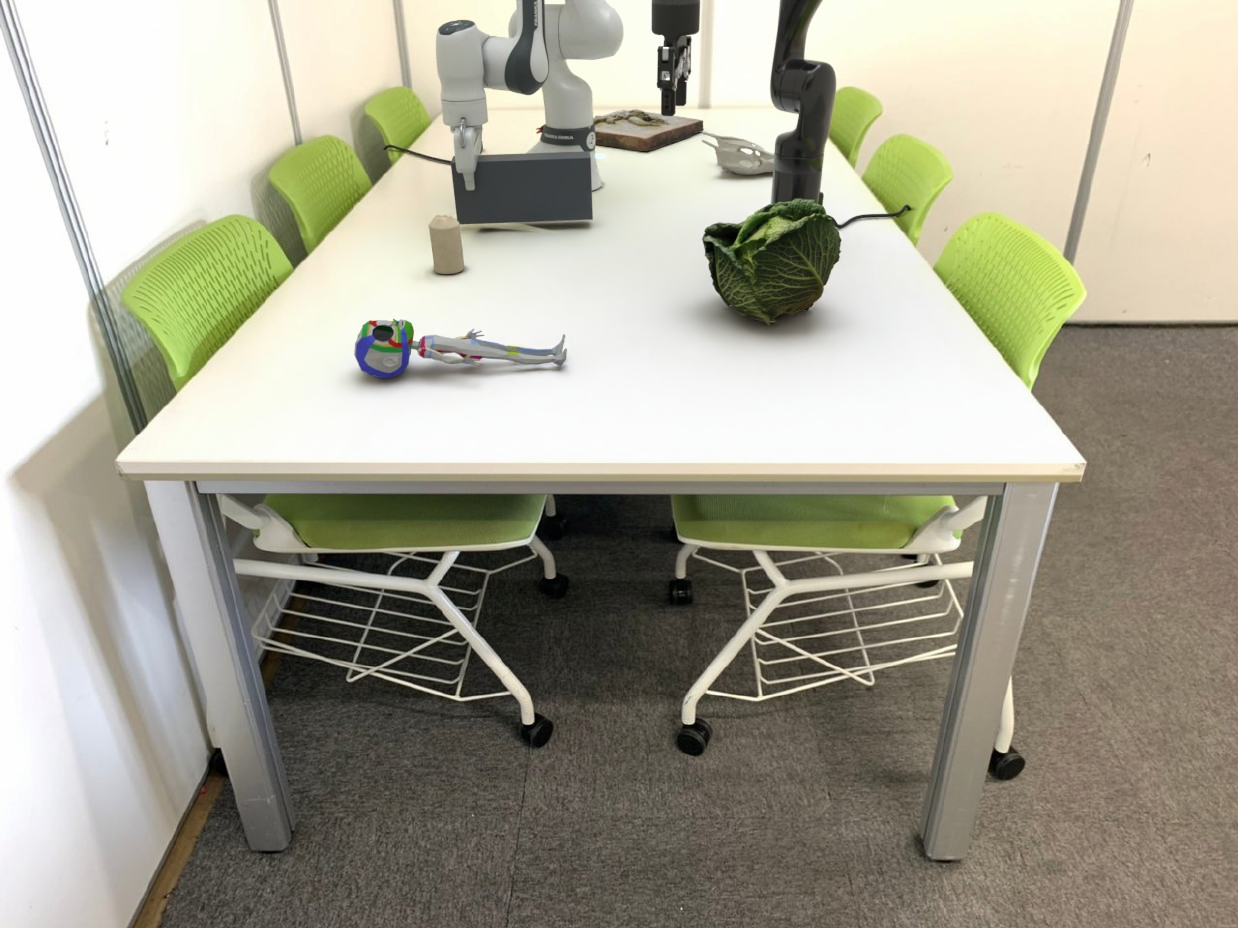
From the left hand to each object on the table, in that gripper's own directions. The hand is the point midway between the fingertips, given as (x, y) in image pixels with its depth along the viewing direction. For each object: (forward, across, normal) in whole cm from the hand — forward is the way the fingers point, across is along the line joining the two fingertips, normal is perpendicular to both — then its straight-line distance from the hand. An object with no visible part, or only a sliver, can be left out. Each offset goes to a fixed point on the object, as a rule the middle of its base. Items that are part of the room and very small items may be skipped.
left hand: (472, 184), depth 183 cm
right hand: (-19, -33, -37) cm, 53 cm away
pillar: (+9, +61, +6) cm, 62 cm away
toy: (+10, -67, -3) cm, 67 cm away
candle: (+9, -24, +3) cm, 26 cm away
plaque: (+9, +82, -40) cm, 91 cm away
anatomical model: (+9, +38, -66) cm, 76 cm away
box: (+7, 0, -10) cm, 13 cm away
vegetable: (+9, -51, -51) cm, 73 cm away
